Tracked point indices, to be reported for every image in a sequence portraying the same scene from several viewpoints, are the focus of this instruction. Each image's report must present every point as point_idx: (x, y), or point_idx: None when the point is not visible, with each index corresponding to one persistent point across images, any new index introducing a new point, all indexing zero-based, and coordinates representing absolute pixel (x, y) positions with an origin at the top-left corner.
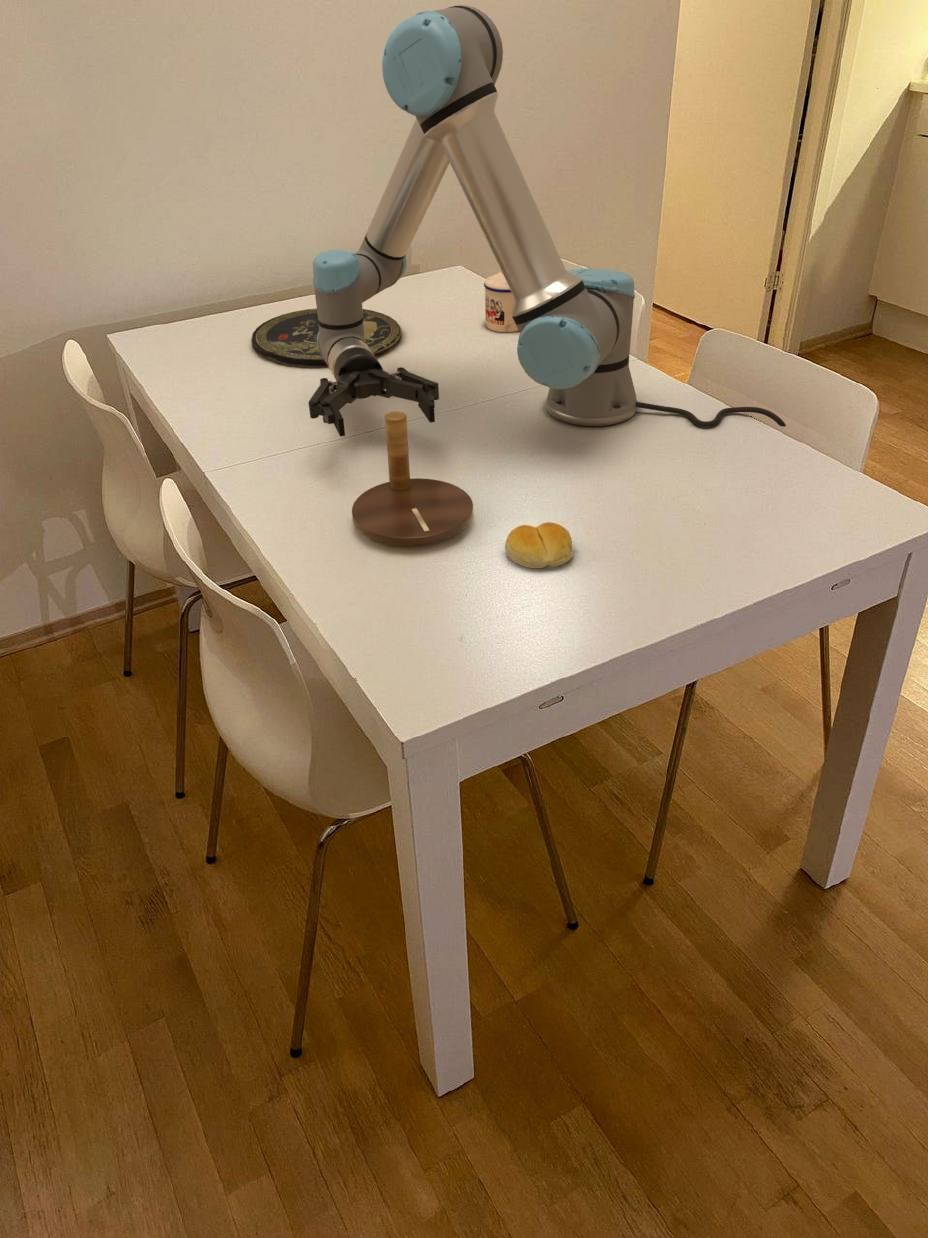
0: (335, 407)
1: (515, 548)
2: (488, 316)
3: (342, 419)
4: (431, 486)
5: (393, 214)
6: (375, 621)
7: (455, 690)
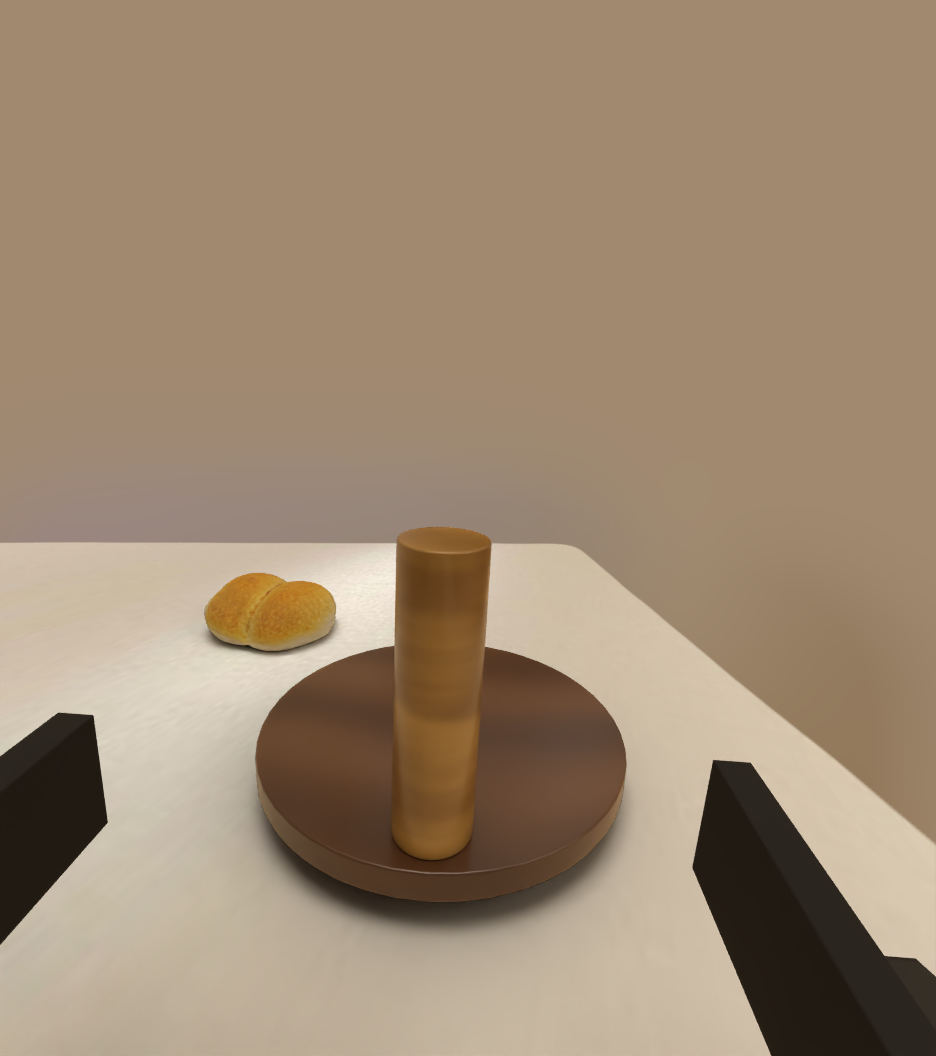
0: (868, 980)
1: (331, 595)
2: None
3: (720, 765)
4: (331, 785)
5: None
6: (585, 609)
7: (516, 552)
